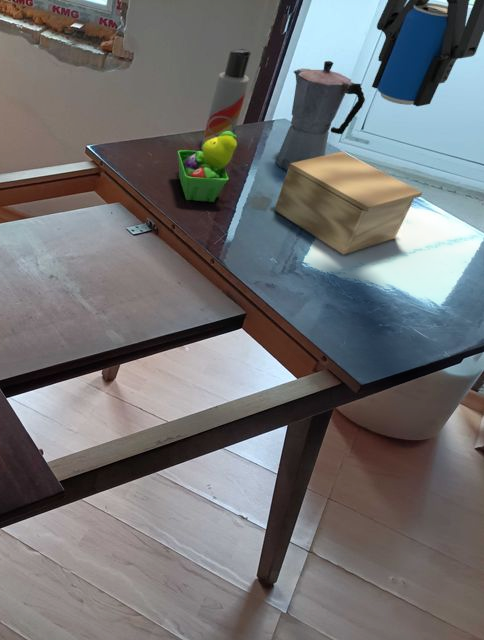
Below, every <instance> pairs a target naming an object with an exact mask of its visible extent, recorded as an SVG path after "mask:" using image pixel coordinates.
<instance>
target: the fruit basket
mask: <svg viewBox="0 0 484 640" xmlns="http://www.w3.org/2000/svg"><path fill="white" fill-rule="evenodd" d="M236 138H237V135H236V134H235V133H234V134H233V133H232V132H231V131H225V132H223V133H222V134H220V136H219V137H215V138H212V139H210V140H208V141H206V142H205V143H204V145H203V147H202V146H201V147H202V148H203V151H202V150H191V149H180V150H178V151H177V158H178V178H179V181H180V185H181V188H182V191H183V194H184V198H185V200H186V201H195V202H211V203H214V202H215V200H216V199H217V197H218V196H219V194H220V192H221V191H222V190H223V187H224V185H225V184H227V182H228V180H229V176H228V174H227V170H226V169H225V167H226V166H227V165H228V164H229V163H230V161H232V158H233V155H234V152H235V150H236V148H237V145H238V142H237V140H236Z"/></svg>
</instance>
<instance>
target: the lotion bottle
mask: <svg viewBox="0 0 484 640" xmlns="http://www.w3.org/2000/svg"><path fill="white" fill-rule="evenodd" d="M251 55H252V52H251V51H250V50H248V49H245V48H237V49H231V50H230V51H229V54H228V58H227V61H226V66H225V70H224V71H222V72H219V75H218V77H217V81H216V85H215V89H214V93H213V96H212V97H213V98H212V101H211V105H210V110H209V112H208V113H209V114H208V117H207V122H206V126H205V129H204V134H203V138H202V142H201V148H200V151H202V152H203V148H202V147H203V145H204V143H205V142H206V141H208V140H210V139H212V138H215V137H219V136H220V134H222V133H223V132H225V131H231V132H232V133H233V134H234V135H235V133H236V129H237V127H238V122H239V119H240V115H241V111H242V108H243V103H244V100H245V96H246V93H247V89H248V86H249V82H250V78H249V76H248V75H246V74H247V70H248V67H249V62H250V58H251Z"/></svg>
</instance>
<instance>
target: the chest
mask: <svg viewBox="0 0 484 640" xmlns="http://www.w3.org/2000/svg"><path fill="white" fill-rule="evenodd" d="M286 171H287V172H286V175H285V178H284V181H283V184H282V187H281V189H280V192H279V195H278V198H277V201H276V204H275V207H274V211H275V212H276V213H278V214H280V215H282V216H283V217H285V218H286V219H287V220H289V221H291V222H292V223H293V224H295V225H297V226H299V227H300V228H301V229H303V230H305V231H306V232H308V233H310V234H311V235H312V236H313V237H316V239H318V240H320V241H321V242H323V243H324V244H326V245H327V246H329V247H330V248H332V249H334V250H335V251H337V252H339V253H340V254H342V255H347V254H350V253H352V252H356V251H359V250H363V249H365V248H369V247H372V246H375V245H379V244H382V243H385V242H388V241H392V240H394V239H396V237H397V236H398V233H399V231H400V229H401V227H402V225H403V224H404V223H403V222H404V221H405V218H406V216H407V214H408V213H409V210H410V209H411V206H412V204H413V202H414V199H415V198H414V199H410V200H407V201H403V202H400V203H396V204H393V205H389V206H386V207H382V208H379V209H375V210H372V211H368V212H367V211H365V210H363V209H361V208H359V207H358V206H356V205H354V204H352V203H351V202H349V201H347V200H345V199H344V198H342V197H340V196H338V195H337V194H335V193H333V192H331V191H330V190H328V189H326V188H324V187H322V186H321V185H319V184H317V183H315V182H314V181H312V180H310V179H308V178H307V177H305V176H303V175H301V174H300V173H298V172H296V171H294V170H292V169H291V168H288V170H286Z"/></svg>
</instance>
